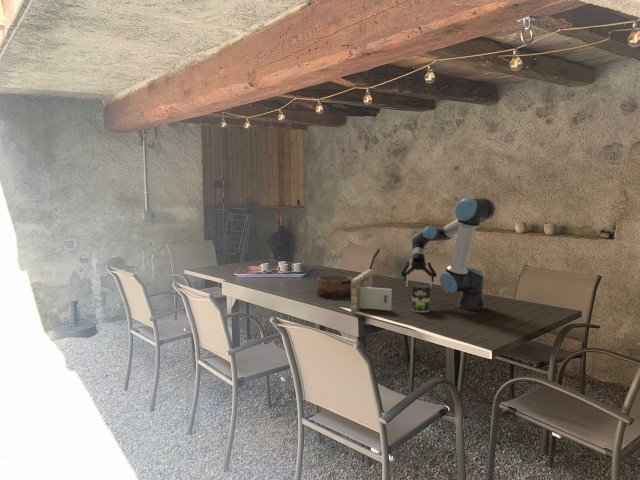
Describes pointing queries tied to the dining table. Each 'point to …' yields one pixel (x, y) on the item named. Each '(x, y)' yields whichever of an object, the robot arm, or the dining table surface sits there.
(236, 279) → the dining table surface
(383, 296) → the door
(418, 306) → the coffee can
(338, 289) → the cooking pot
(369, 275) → the door frame
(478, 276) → the robot arm
